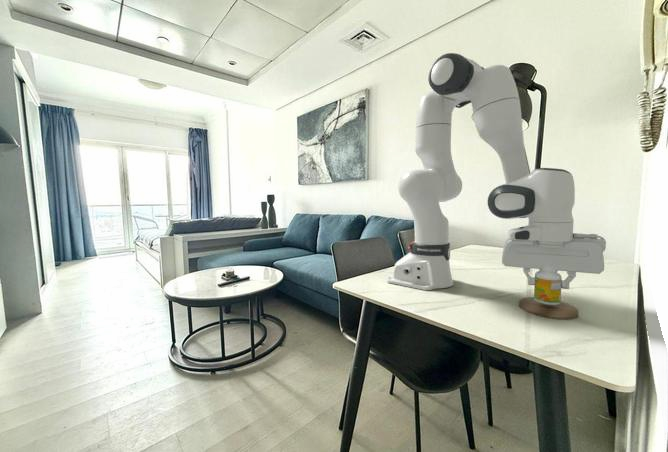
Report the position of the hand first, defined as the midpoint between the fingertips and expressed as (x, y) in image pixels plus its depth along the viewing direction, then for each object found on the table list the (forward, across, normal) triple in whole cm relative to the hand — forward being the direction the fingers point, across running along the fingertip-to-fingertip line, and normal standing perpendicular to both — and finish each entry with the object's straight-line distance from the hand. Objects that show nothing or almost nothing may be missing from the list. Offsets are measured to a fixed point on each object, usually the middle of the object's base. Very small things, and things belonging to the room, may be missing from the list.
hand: (547, 286), depth 70 cm
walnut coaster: (+6, 0, 0) cm, 6 cm away
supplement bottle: (+4, 0, 0) cm, 4 cm away
